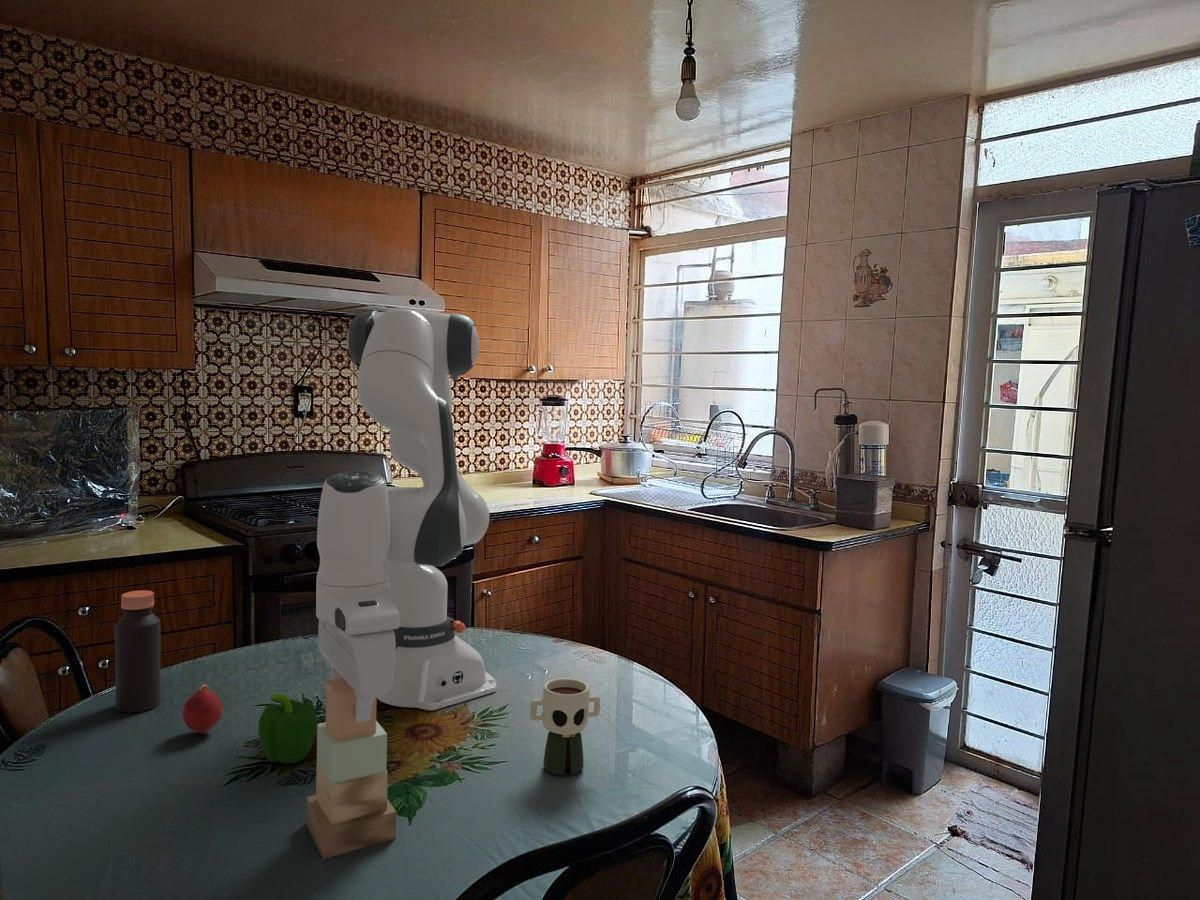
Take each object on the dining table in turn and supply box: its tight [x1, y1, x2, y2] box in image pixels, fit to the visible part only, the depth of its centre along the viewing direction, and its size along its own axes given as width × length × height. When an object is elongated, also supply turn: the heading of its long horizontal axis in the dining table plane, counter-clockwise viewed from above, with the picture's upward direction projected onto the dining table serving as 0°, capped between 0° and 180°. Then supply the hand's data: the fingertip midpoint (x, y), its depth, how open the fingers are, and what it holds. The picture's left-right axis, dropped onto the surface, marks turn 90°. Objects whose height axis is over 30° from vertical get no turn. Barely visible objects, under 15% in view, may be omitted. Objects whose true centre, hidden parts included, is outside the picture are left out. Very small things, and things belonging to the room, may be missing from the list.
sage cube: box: [316, 720, 388, 785], centre depth 101 cm, size 7×7×5 cm
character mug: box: [529, 677, 601, 776], centre depth 121 cm, size 11×7×13 cm, turn 105°
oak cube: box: [315, 761, 389, 825], centre depth 101 cm, size 7×7×5 cm
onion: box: [182, 684, 224, 735], centre depth 128 cm, size 6×6×8 cm
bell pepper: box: [257, 693, 318, 765], centre depth 121 cm, size 8×8×10 cm
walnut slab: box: [305, 794, 397, 860], centre depth 102 cm, size 9×9×4 cm
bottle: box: [114, 589, 162, 714], centre depth 137 cm, size 7×7×20 cm
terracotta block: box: [325, 678, 378, 741], centre depth 101 cm, size 5×5×6 cm
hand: (351, 707), depth 101 cm, fingers open, 7 cm apart
